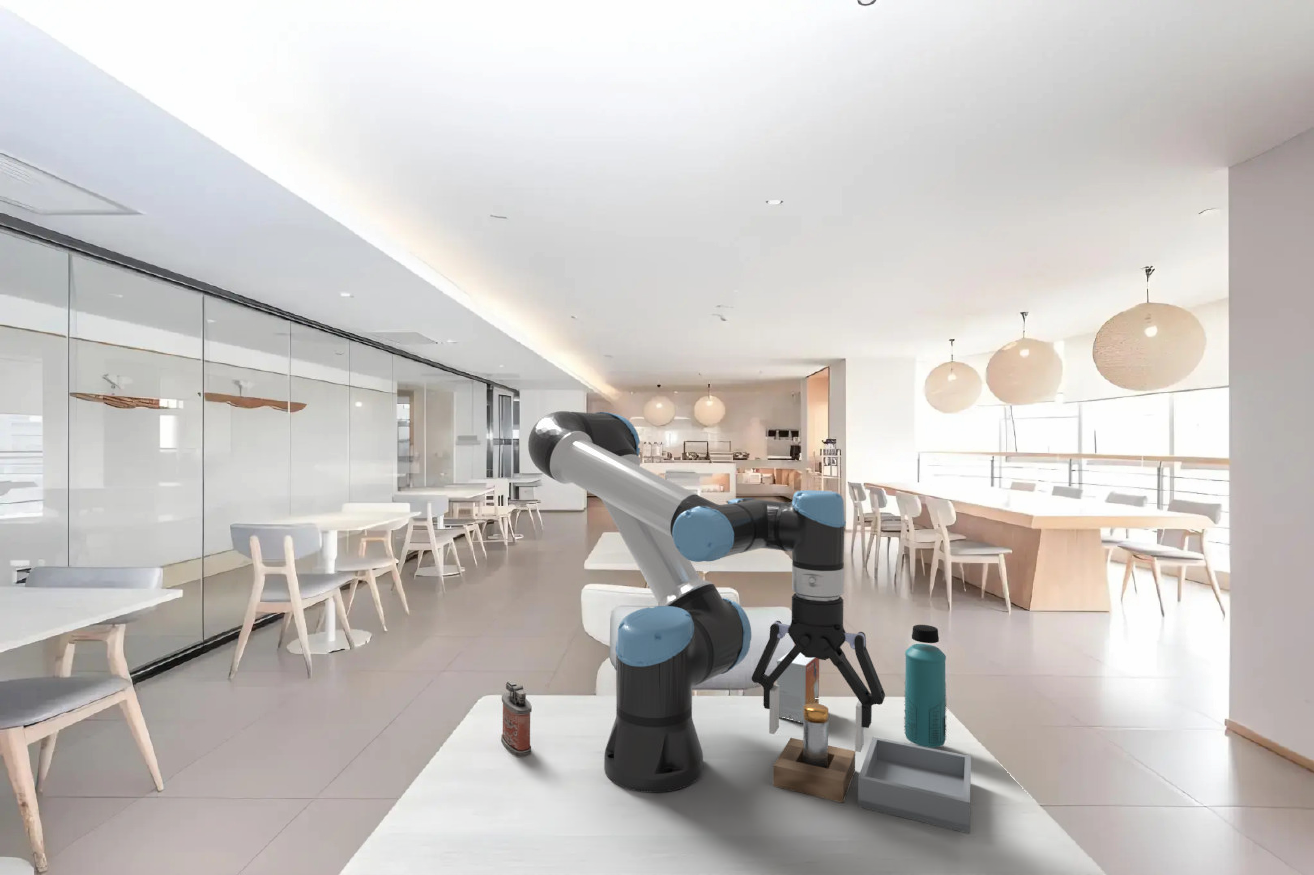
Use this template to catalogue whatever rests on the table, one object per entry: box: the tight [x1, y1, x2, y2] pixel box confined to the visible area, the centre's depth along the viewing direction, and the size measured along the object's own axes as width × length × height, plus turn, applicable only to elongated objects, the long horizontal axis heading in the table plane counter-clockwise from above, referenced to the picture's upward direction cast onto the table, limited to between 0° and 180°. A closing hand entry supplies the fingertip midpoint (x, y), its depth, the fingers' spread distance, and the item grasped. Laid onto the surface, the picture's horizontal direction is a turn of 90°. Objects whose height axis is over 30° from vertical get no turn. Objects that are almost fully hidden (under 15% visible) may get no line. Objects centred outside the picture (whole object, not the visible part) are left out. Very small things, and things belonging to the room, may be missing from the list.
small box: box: [775, 649, 820, 723], centre depth 124 cm, size 8×6×10 cm
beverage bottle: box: [903, 624, 948, 748], centre depth 111 cm, size 6×7×20 cm
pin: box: [802, 703, 829, 769], centre depth 100 cm, size 4×4×10 cm
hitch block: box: [772, 737, 856, 803], centre depth 101 cm, size 10×10×3 cm
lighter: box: [500, 679, 533, 758], centre depth 110 cm, size 8×3×10 cm, turn 34°
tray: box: [857, 736, 972, 834], centre depth 96 cm, size 14×14×4 cm
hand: (815, 739), depth 100 cm, fingers open, 12 cm apart
